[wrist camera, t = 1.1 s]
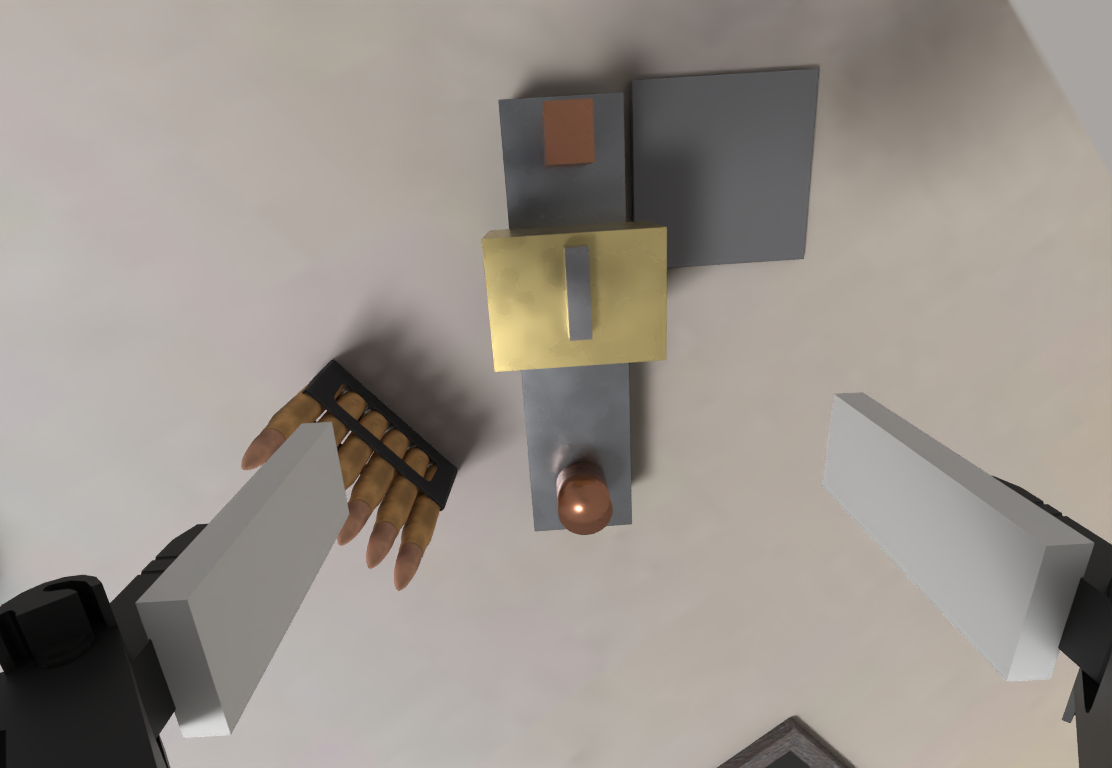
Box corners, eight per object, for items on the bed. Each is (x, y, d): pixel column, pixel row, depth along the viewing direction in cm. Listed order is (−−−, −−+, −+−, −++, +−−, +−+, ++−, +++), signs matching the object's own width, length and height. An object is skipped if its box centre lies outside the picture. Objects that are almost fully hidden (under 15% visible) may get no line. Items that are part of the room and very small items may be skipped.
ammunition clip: (458, 470, 38) (427, 590, 27) (439, 487, 39) (400, 612, 27) (332, 358, 35) (238, 439, 24) (313, 378, 36) (211, 467, 24)
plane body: (502, 110, 31) (491, 81, 23) (612, 103, 31) (642, 72, 23) (534, 497, 39) (534, 584, 31) (622, 491, 39) (647, 576, 31)
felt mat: (630, 81, 31) (632, 79, 30) (814, 70, 31) (819, 68, 31) (633, 268, 34) (635, 270, 34) (799, 257, 34) (803, 258, 34)
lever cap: (489, 230, 29) (479, 241, 24) (645, 220, 30) (672, 228, 24) (500, 343, 31) (493, 378, 26) (646, 334, 32) (671, 366, 26)
